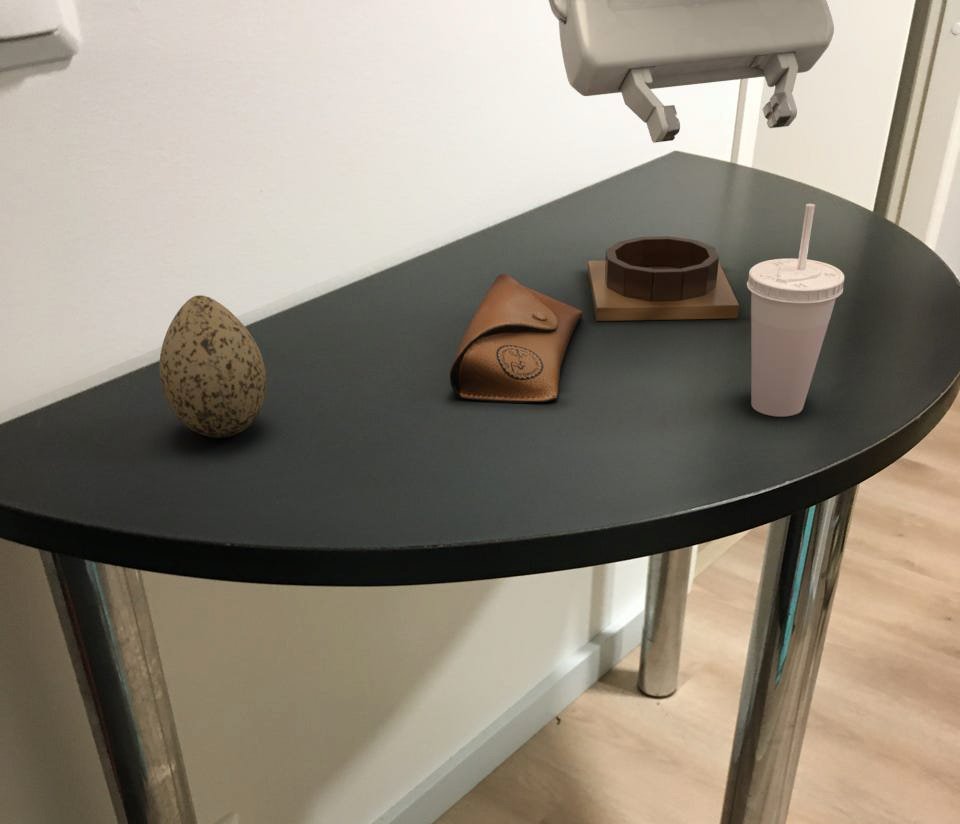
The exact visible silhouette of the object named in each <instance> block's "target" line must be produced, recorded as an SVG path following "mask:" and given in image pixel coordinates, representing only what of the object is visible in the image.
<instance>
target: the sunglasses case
mask: <svg viewBox="0 0 960 824" xmlns="http://www.w3.org/2000/svg"><path fill="white" fill-rule="evenodd" d="M583 314H584V311H582V310H580V309H578V308H576V307H574V306H571V305H570V304H567V303H564V302H562V301H559V300H557V299H554V298H552V297H550V296H548V295H546V294H543V293H542V292H539V291H536V290H534V289H532V288H529V287H527V286H525V285H522V284H521V283H519V282H518V281H517V280H515V279H514V278H513V277H512V276H510V275H508V274H506V273H505V272H503V273H501V274H499V275H497V277H496V278H495V279H494V281H493V282H492V284H491V286H490V288H489V290H488V291H487V292H486V294H485V296H484V297H483V298H482V300H481V303H480V304H479V306H478V308H477V310H476V312H475V314H474V315H473V317H472V320H471V322H470V324H469V325H468V328H467V329H466V331H465V334H464V335H463V338H462V340H461V342H460V344H459V346H458V349H457V351H456V354H455V356H454V359H453V362H452V365H451V367H450V371H449V382H450V386H451V388H452V389H453V390H454V391H455V393H456V394H457V395H458V396H459V397H460V398H461V399H465V400H473V401H480V402H481V401H482V402H489V403H504V404H507V403H508V404H511V403H512V404H514V403H515V404H516V403H518V404H521V403H544V402H549V401H553V400H555V399H557V398H558V396H559V388H560V386H559V385H560V377H561V369H562V365H563V360H564V358H565V355H566V352H567V348H568V345H569V342H570V340H571V338H572V335H573V334H574V331H575V330H576V328H577V327H578V325H579V323H580V321H581V319H582V317H583Z"/></svg>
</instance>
